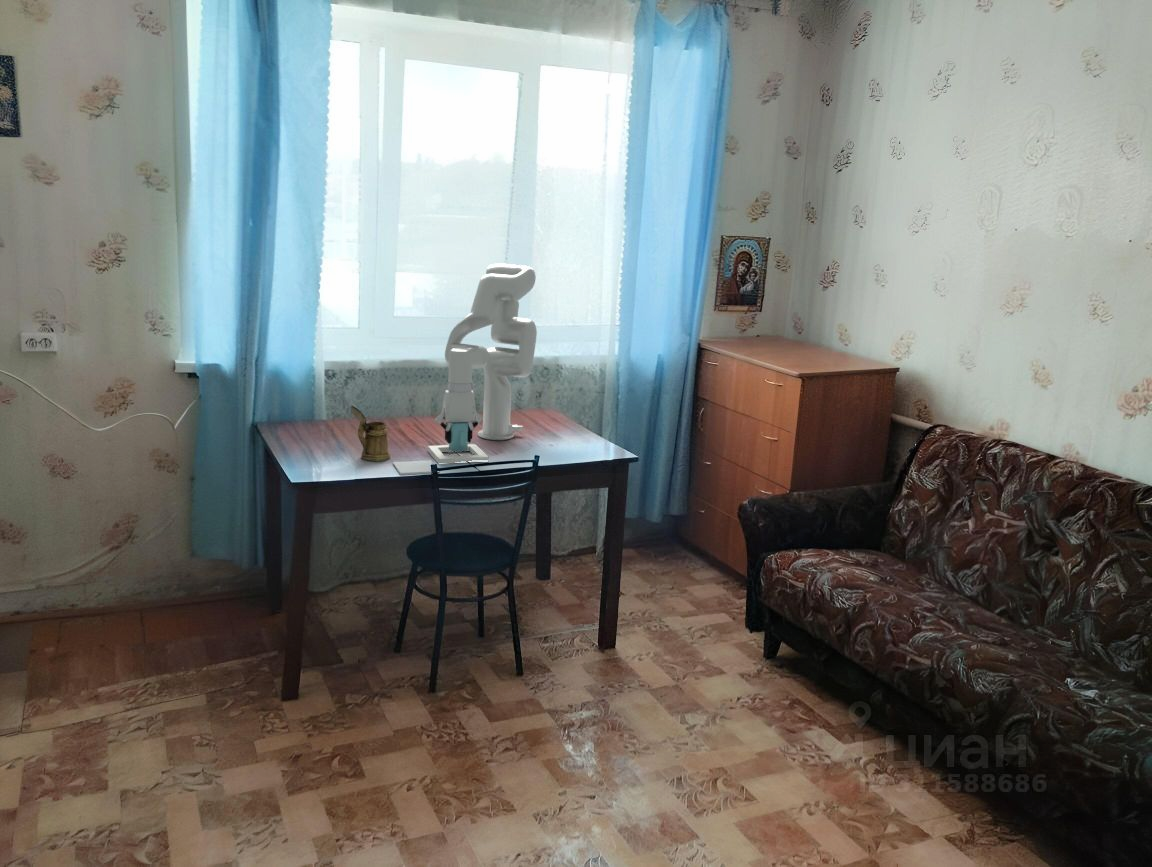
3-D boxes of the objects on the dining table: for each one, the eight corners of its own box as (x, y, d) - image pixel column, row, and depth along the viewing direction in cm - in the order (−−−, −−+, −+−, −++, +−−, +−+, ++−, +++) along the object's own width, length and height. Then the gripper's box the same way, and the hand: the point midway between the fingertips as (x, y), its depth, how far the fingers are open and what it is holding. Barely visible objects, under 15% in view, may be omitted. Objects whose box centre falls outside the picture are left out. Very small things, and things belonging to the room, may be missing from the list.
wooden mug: (343, 458, 309) (343, 402, 305) (380, 452, 318) (380, 398, 314) (358, 465, 303) (359, 408, 299) (395, 459, 312) (396, 403, 308)
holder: (475, 449, 329) (475, 444, 329) (488, 462, 315) (488, 456, 314) (427, 451, 323) (428, 445, 323) (439, 464, 309) (439, 459, 308)
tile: (430, 462, 311) (430, 460, 311) (439, 473, 300) (439, 471, 300) (392, 464, 307) (392, 462, 306) (400, 474, 296) (400, 473, 296)
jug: (446, 447, 320) (447, 420, 318) (464, 446, 322) (465, 419, 320) (453, 453, 313) (453, 426, 311) (471, 452, 315) (472, 425, 313)
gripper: (482, 384, 320) (481, 437, 325) (430, 385, 314) (429, 440, 318) (489, 389, 313) (487, 443, 318) (436, 390, 307) (434, 446, 312)
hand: (458, 441), depth 318 cm, fingers closed on jug, 6 cm apart
